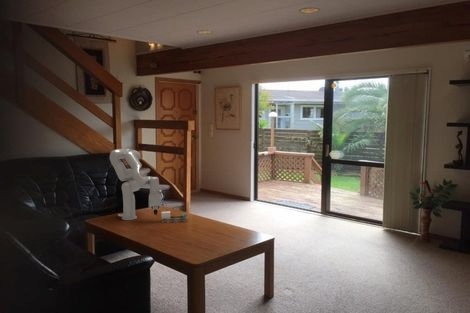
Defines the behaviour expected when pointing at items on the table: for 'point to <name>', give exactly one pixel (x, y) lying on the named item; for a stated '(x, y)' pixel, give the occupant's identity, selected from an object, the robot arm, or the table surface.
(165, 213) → the cream block
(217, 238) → the table surface
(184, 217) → the channel board
